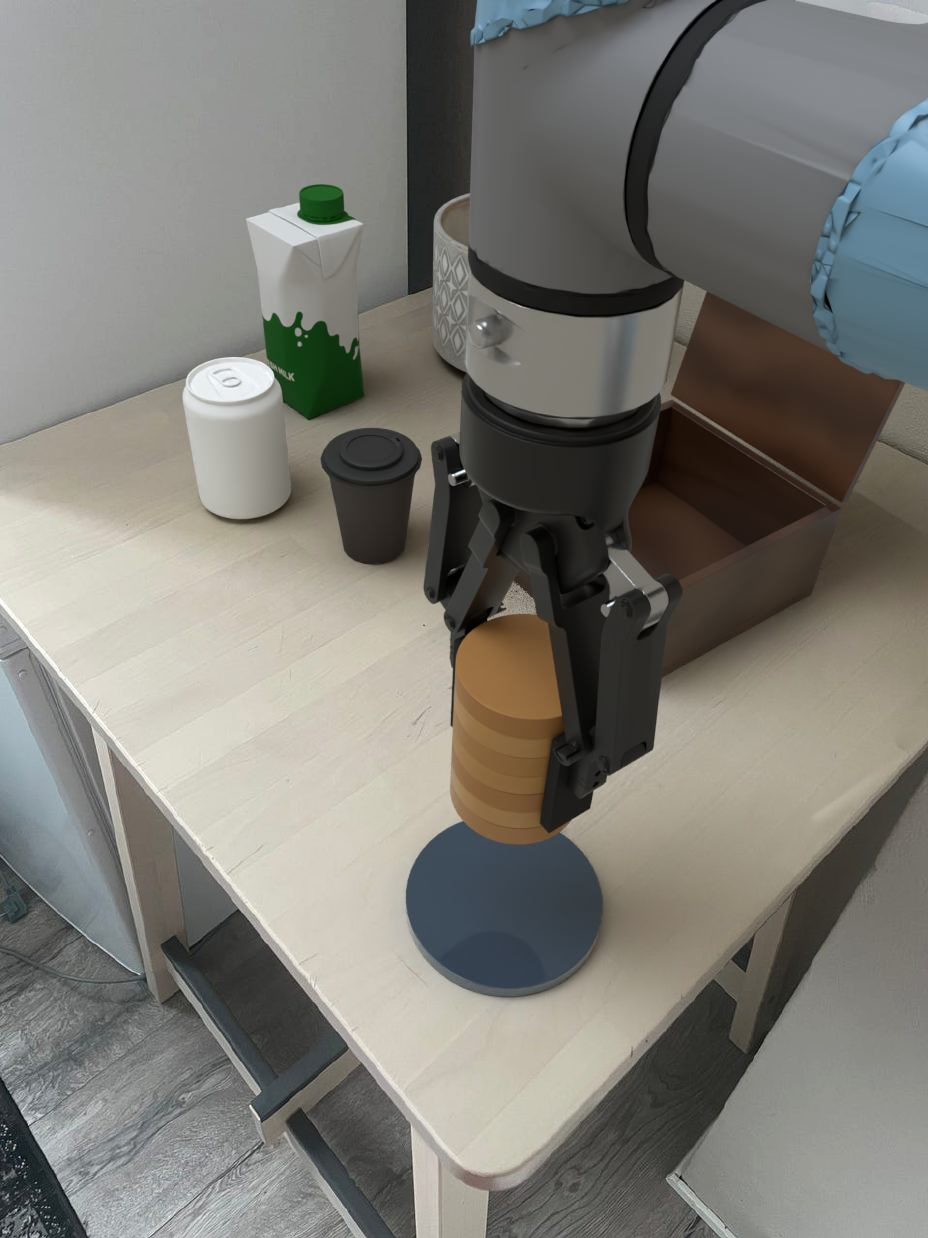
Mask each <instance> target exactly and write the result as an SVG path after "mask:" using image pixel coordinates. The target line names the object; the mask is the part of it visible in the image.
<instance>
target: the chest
mask: <svg viewBox="0 0 928 1238" xmlns="http://www.w3.org/2000/svg"><path fill="white" fill-rule="evenodd" d="M842 510H843V507H842V506H840V505H838V504H837V503H836V502H834V501H833V500H831V499H830V498H828V497H826V496H825V495H823V494H822V493H820V492H818V491H817V490H816V489H814V488H813V487H811V486H809V485H807V484H806V483H805V482H803V481H801V480H800V479H798V478H797V477H795V476H794V475H792V474H790V473H789V472H787V471H785V470H783V469H782V468H781V467H779V466H778V465H776V464H775V463H773V462H771V461H770V460H768V459H766V458H765V457H764V456H762V455H761V454H758V453H757V452H755V451H754V450H752V449H751V448H749V447H748V446H746V445H745V444H743V443H741V442H740V441H738V440H736V439H735V438H734V437H732V436H730V435H729V434H727V433H726V432H724V431H722V430H721V429H719V428H718V427H716V426H714V424H712V423H710V422H708V421H707V420H706V419H704V418H702V417H700V416H699V415H697V414H696V413H695V412H693V411H691V410H690V409H688V408H686V407H685V406H683V405H682V404H680V403H678V402H677V401H676V400H673V399H670V400H667V401H664V402H661V408H660V413H659V419H658V424H657V429H656V434H655V439H654V444H653V449H652V455H651V460H650V465H649V470H648V473H647V476H646V478H645V480H644V482H643V484H642V486H641V487H640V489H639V491H638V493H637V494H636V496H635V498H634V500H633V502H632V504H631V506H630V508H629V511H628V521H629V528H630V532H631V537H632V548H631V552H630V554H631V555H632V556H633V557H634V558H635V559H636V560H637V561H638V562H639V564H640V565H641V566H642V567H643V568H644V569H645V570H646V571H647V572H648V574H649V575H650V576H651V577H652V578H653V579H655V578H657V577H659V576H661V575H663V574H666V573H669V574H672V575H674V576H675V577H676V578H677V579H678V581H679V582H680V584H681V587H682V591H683V595H682V599H681V600H680V602H679V604H678V606H677V607H676V609H675V611H674V613H673V615H672V616H671V618H670V620H669V622H668V623H667V631H666V640H665V649H664V658H663V667H662V677H664V676H666V675H668V674H669V673H671V672H674V671H675V670H677V669H678V668H680V667H683V666H684V665H686V664H688V663H690V662H691V661H693V660H695V659H697V658H698V657H700V656H702V655H704V654H706V653H708V652H710V651H711V650H713V649H715V648H716V647H718V646H721V645H722V644H724V643H725V642H727V641H729V640H731V639H732V638H735V637H737V636H738V635H740V634H742V633H743V632H745V631H746V630H749V629H750V628H753V627H755V626H756V625H758V624H760V623H762V622H763V621H765V620H767V619H768V618H771V617H772V616H774V615H775V614H777V613H779V612H781V611H783V610H784V609H786V608H788V607H790V606H792V605H794V604H795V603H797V602H799V601H801V600H802V599H804V598H806V597H808V596H810V595H811V594H813V591H814V589H815V585H816V583H817V580H818V577H819V574H820V571H821V568H822V566H823V563H824V560H825V558H826V554H827V551H828V549H829V546H830V544H831V540H832V538H833V535H834V532H835V530H836V527H837V523H838V521H839V518H840V515H841V512H842ZM513 582H515V583H516V584H517V585H518V586H519V587H520V588H522V590H524V592H526V593H527V594H528V595H529V596H530V597H531V598H533V599H534V595H533V589H532V583H531V581H530V580H529V579H528V577H527V576H526V575H525V574H524V572H522V571H521V570H519V572H518V574H517V576H516V578H515V579H514V581H513ZM561 595H563V594H560V596H561ZM662 677H661V678H662Z"/></svg>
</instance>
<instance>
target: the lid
mask: <svg viewBox="0 0 928 1238" xmlns="http://www.w3.org/2000/svg"><path fill="white" fill-rule="evenodd" d="M905 385H906V383H905V382H902V381H900V380H895V379H884V378H882V377H880V376H878V375H876V374H874V373H870V374H865V373H863V372H861V371H859V370H857V369H855V368H854V367H853V366H850V365H848V364H846V363H844V362H842V361H841V360H840V359H839V358H838V356H836V355H834V354H832V353H830V352H828V351H826V350H824V349H822V348H820V347H818V346H816V345H814V344H812V343H810V342H808V341H806V340H804V339H802V338H800V337H798V336H796V335H794V334H792V333H790V332H788V331H786V330H784V329H782V328H780V327H778V326H776V325H774V324H772V323H770V322H768V321H766V320H764V319H762V318H760V317H758V316H756V315H754V314H752V313H750V312H748V311H746V310H744V309H742V308H740V307H738V306H736V305H733V304H731V303H729V302H727V301H725V300H723V299H721V298H719V297H717V296H715V295H713V294H711V293H709V292H707V291H705V295H704V298H703V300H702V303H701V307H700V309H699V311H698V315H697V317H696V320H695V324H694V326H693V329H692V332H691V335H690V337H689V340H688V343H687V346H686V349H685V351H684V354H683V358H682V360H681V363H680V366H679V369H678V371H677V375H676V378H675V380H674V382H673V386H672V389H671V392H670V396H672V397H673V398H675V399H676V400H677V401H680V402H681V403H683V404H685V405H686V406H688V407H689V408H691V409H692V410H694V411H695V412H697V413H699V414H700V415H702V416H703V417H705V418H707V420H710V421H711V422H713V423H715V424H716V425H718V426H719V427H721V428H722V429H724V430H726V431H727V432H728V433H730V434H732V435H733V436H735V437H736V438H738V439H740V440H741V441H743V442H745V443H746V444H748V445H749V446H750V447H752V448H754V449H756V450H757V451H759V452H760V453H762V454H763V455H765V456H766V457H768V458H770V459H771V460H773V461H774V462H776V463H777V464H779V465H780V466H782V467H784V468H785V469H787V470H788V471H790V472H792V473H793V474H795V475H796V476H798V477H800V478H801V479H803V480H805V481H806V482H808V483H809V484H811V485H813V486H814V487H816V488H817V489H819V490H820V491H822V492H823V493H825V494H827V495H828V496H829V497H831V498H833V499H834V500H836V501H837V502H839V503H840V504H842V503H843V504H844V503H846V502H848V501H849V499H850V497H851V495H852V493H853V491H854V490H855V487H856V485H857V483H858V481H859V478H860V477H861V475H862V472H863V470H864V469H865V467H866V465H867V462H868V460H869V458H870V456H871V454H872V452H873V450H874V448H875V447H876V444H877V442H878V441H879V438H880V436H881V433H882V432H883V430H884V427H885V426H886V424H887V422H888V420H889V418H890V416H891V414H892V411H893V409H894V407H895V405H896V403H897V401H898V399H899V398H900V395H901V393H902V391H903V388H904V387H905Z"/></svg>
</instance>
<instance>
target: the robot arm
mask: <svg viewBox="0 0 928 1238" xmlns="http://www.w3.org/2000/svg"><path fill="white" fill-rule="evenodd" d="M474 19H475V20H474V26H473V28H472V29H471V30H470V36H469V38H470V47H471V48H473V83H472V85H473V87H472V88H473V90H472V119H471V120H472V121H471V149H470V150H471V151H470V158H471V159H470V183H469V185H470V186H469V193H470V212H469V241H468V262H469V274H468V293H467V312H466V331H465V350H464V363H465V366H466V369H467V372H465V375H464V376H463V379H462V382H461V395H460V396H461V397H460V398H461V399H460V400H461V401H460V417H459V418H460V421H459V431H458V432H456V433H453V434H451V435H448V436H444V437H442V438H439V439H437V440H434V441H432V442H431V445H430V453H431V462H432V470H433V471H432V472H433V478H434V491H433V498H432V499H433V500H432V506H431V507H432V508H431V516H430V526H429V534H428V542H427V551H426V561H425V567H424V568H425V570H424V577H423V593H424V596H425V598H426V599H427V600H428V602H429V603H430V604H431V605H436V604H438V603H440V604H441V605H442V608H444V612H443V622H444V624H445V627H446V628H447V630H448V631H449V632H450V639H449V663H450V667H451V668H452V679H451V683H452V684H451V702H450V727H451V728H452V729H453V709H454V687H455V665H456V655H457V652H458V649H459V646H460V644H461V643H462V641H463V640H464V638H465V637H466V636H467V635H468V634H469V633H470V632H471V631H472V630H473V629H474V628H476V627H477V626H479V625H480V624H482V623H484V622H486V621H488V619H491V618H492V617H494V616H497V615H499V614H500V613H502V612H503V613H504V612H505V611H506V610H507V608H508V607H506V606H504V605H505V603H504V602H503V601H504V599H505V597H506V595H507V594H508V592H509V590H510V588H511V587H512V585H513V583H514V582H515V581H514V579H515V578H516V576H517V574H518V572H519V570H521V571H522V572H524V574H525V575H526V576H527V577H528V579H529V580H530V581H531V583H532V589H533V595H534V598H533V603H534V608H535V614H536V615H537V616H538V618H539V619H541V620H543V621H545V622H547V623H548V628H549V634H550V641H551V647H552V654H553V660H554V667H555V673H556V680H557V686H558V693H559V699H560V706H561V712H562V719H563V725H564V733H562V734H560V735H558V736H557V737H555V738H553V739H552V742H551V749H550V756H549V763H548V769H547V776H546V783H545V790H544V797H543V803H542V810H541V817H540V824H541V825H542V826H543V828H544V829H545V830H546V831H547V832H548V833H551V832H553V831H554V830H556V829H557V828H559V827H561V826H562V825H564V824H566V823H567V822H569V821H571V822H572V820H574V819H576V818H577V817H579V816H580V815H582V814H584V813H586V812H588V811H589V810H590V809H591V808H592V807H591V806H592V802H593V797H594V791H596V790H597V789H599V788H601V787H602V786H604V785H605V784H606V782H607V781H608V780H607V779H608V777H610V776H612V775H613V774H615V773H617V772H619V771H621V770H622V769H624V768H625V767H627V766H629V765H630V764H633V763H634V762H636V761H638V760H640V759H641V758H643V757H644V756H645V755H647V754H649V753H650V752H652V751H653V750H654V747H655V741H656V740H655V739H656V729H657V721H658V713H659V712H658V711H659V704H660V694H661V686H662V685H661V684H662V667H663V658H664V649H665V640H666V631H667V623H668V622H669V620H670V618H671V616H672V615H673V613H674V611H675V609H676V607H677V606H678V604H679V602H680V600H681V599H682V595H683V591H682V587H681V584H680V582H679V581H678V579H677V578H676V577H675V576H674V575H672V574H669V573H666V574H663V575H661V576H659V577H657V578H655V579H653V578H652V577H651V576H650V575H649V574H648V572H647V571H646V570H645V569H644V568H643V567H642V566H641V565H640V564H639V562H638V561H637V560H636V559H635V558H634V557H633V556H632V555H631V554H630V552H631V548H632V537H631V532H630V528H629V521H628V511H629V508H630V506H631V504H632V502H633V500H634V498H635V496H636V494H637V493H638V491H639V489H640V487H641V486H642V484H643V482H644V480H645V478H646V476H647V473H648V470H649V465H650V460H651V455H652V449H653V444H654V439H655V434H656V429H657V424H658V419H659V413H660V408H661V404H662V397H661V392H662V390H663V388H664V387H665V385H666V383H667V381H668V376H669V371H670V365H671V360H672V355H673V354H672V353H673V348H674V343H675V337H676V332H677V325H678V319H679V316H680V315H679V314H680V309H681V308H680V307H681V303H682V297H683V291H684V287H685V282H687V283H689V284H691V285H693V286H695V287H697V288H699V289H701V290H703V291H705V292H709V293H711V294H713V295H715V296H717V297H719V298H721V299H723V300H725V301H727V302H729V303H731V304H733V305H736V306H738V307H740V308H742V309H744V310H746V311H748V312H750V313H752V314H754V315H756V316H758V317H760V318H762V319H764V320H766V321H768V322H770V323H772V324H774V325H776V326H778V327H780V328H782V329H784V330H786V331H788V332H790V333H792V334H794V335H796V336H798V337H800V338H802V339H804V340H806V341H808V342H810V343H812V344H814V345H816V346H818V347H820V348H822V349H824V350H826V351H828V352H830V353H832V354H834V355H836V356H838V358H839V359H840V360H841V361H842V362H844V363H846V364H848V365H850V366H853V367H854V368H855V369H857V370H859V371H861V372H863V373H865V374H870V373H874V374H876V375H878V376H880V377H882V378H884V379H895V380H900V381H902V382H905V384H908V385H910V386H913V387H916V388H918V389H922V390H923V391H927V392H928V22H925V23H905V22H898V21H897V22H896V21H890V20H884V19H879V18H874V17H871V16H870V17H869V16H867V15H862V14H858V13H857V14H856V13H853V12H847V11H843V10H838V9H834V8H830V7H825V6H821V5H817V4H812V3H808V2H805V1H800V0H476V10H475V18H474ZM560 594H563V595H561V596H560ZM503 606H504V607H503Z"/></svg>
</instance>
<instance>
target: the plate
mask: <svg viewBox="0 0 928 1238" xmlns="http://www.w3.org/2000/svg"><path fill="white" fill-rule="evenodd" d="M405 915H406V921H407V925H408V929H409V933H410V935H411V937H412V940H413V942H414V944H415V946H416V948H417V949H418V950H419V952H420V954H421V955H422V956H423V958H424V959H425V960H426V961H427V962H428V963H429V964H430V966H431V967H432V968H434V969H435V971H437V972H438V973H439V974H440V975H441V976H443V977H445V978H446V979H448V980H449V981H450V982H452V983H453V984H455V985H458V986H460V987H461V988H463V989H467V990H469V991H472V992H475V993H479V994H483V995H487V996H492V997H502V998H509V997H511V998H514V997H524V996H530V995H534V994H538V993H541V992H544V991H547V990H549V989H552V988H554V987H556V986H558V985H559V984H561V983H562V982H564V981H565V980H567V979H568V978H570V977H571V976H572V975H573V974H575V973H576V972H577V971H578V970H579V969H580V968H581V967H582V965H583V964H585V962H586V961H587V959H588V957H590V955H591V953H592V952H593V949H594V947H595V945H596V943H597V941H598V937H599V934H600V930H601V926H602V921H603V915H604V898H603V892H602V888H601V884H600V881H599V877H598V875H597V873H596V871H595V869H594V867H593V865H592V863H591V862H590V861H589V859H588V857H587V856H586V855H585V854H584V852H583V851H582V850H581V849H580V847H579V846H578V845H576V844H575V843H574V842H573V841H572V839H570V838H569V837H567V836H566V835H564V834H563V833H562V832H561V831H560V832H559V833H558V834H556V835H554V836H553V837H551V838H549V839H546V840H543V841H541V842H536V843H532V844H520V845H515V844H506V843H501V842H497V841H494V840H491V839H488V838H486V837H484V836H482V835H480V834H479V833H477V832H475V831H474V830H473V829H471V828H470V827H469V826H468V825H467V824H466V823H465V822H464V821H463V820H462V821H459V822H457V823H454V824H453V825H452V824H451V826H449V827H447V828H445V829H444V830H442V831H440V832H439V833H437V834H436V835H435V836H434V837H433V838H432V839H430V840H429V842H427V844H425V846H424V847H423V848H422V849H421V851H419V854H418V855H417V857H416V858H415V860H414V861H413V864H412V866H411V868H410V871H409V874H408V878H407V881H406V888H405Z"/></svg>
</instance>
